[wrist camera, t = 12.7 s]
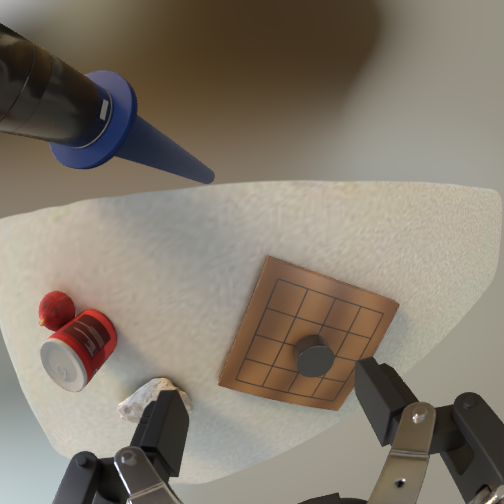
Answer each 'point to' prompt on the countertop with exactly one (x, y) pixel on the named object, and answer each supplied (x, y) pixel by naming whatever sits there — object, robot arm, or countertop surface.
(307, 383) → the grid board
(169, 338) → the countertop surface
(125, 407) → the stone
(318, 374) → the black stone
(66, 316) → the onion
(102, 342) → the canned food
